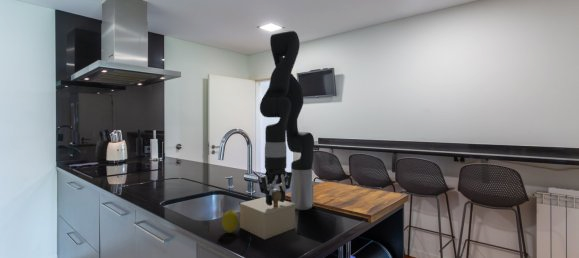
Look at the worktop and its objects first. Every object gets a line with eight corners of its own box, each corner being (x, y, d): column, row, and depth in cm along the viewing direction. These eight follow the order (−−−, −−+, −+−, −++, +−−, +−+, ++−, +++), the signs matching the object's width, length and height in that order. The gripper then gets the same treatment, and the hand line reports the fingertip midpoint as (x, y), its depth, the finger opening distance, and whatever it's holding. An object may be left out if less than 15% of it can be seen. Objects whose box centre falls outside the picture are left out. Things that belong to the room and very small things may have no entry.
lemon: (230, 237, 96) (230, 213, 96) (218, 233, 99) (218, 210, 99) (241, 231, 101) (241, 209, 101) (230, 228, 104) (230, 206, 104)
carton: (269, 218, 115) (269, 198, 114) (294, 227, 104) (294, 206, 104) (240, 227, 105) (240, 205, 104) (264, 239, 95) (264, 215, 94)
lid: (269, 197, 114) (269, 181, 114) (294, 205, 104) (295, 187, 104) (240, 205, 104) (239, 187, 104) (264, 215, 94) (264, 195, 94)
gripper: (283, 152, 108) (283, 197, 109) (252, 155, 98) (252, 205, 99) (297, 154, 102) (297, 201, 103) (266, 158, 92) (266, 210, 93)
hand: (275, 203), depth 101 cm, fingers open, 5 cm apart
